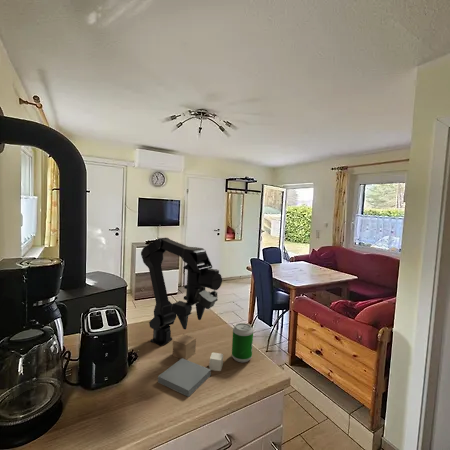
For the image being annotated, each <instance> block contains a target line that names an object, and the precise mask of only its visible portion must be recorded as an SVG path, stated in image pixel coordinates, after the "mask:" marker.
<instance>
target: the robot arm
mask: <svg viewBox="0 0 450 450" xmlns="http://www.w3.org/2000/svg"><path fill="white" fill-rule="evenodd" d="M140 251H141V252H140V255H141V259H142V262H143V264H144V265H145V266H146V267H147V268H148V270H149V274H150V280H151V284H152V291H153V295H154V300H155V306H154V309H153V318H151V319H150V321H149V322H148V324H149V328H150V329H153V331H152V332H153V335H152V338H151V339H150V342H151V343H154V344H157V345H159V346H164V345H166V344H168V343H169V342H171V341H173V337H172V336H171V335H172V332H171V331H172V330H171V325H174V323H175V320H176V318H178V320H179V323H180V325H181V327H182V329H183V330H187V326H188V321H189V316H190V315H192V314H193V313H192V309H193V306H195V310H196V316H197V320H199V321H201V320H202V319H203V318H202V317H203V315H204V313H205V310H210V309H211V308H212V307H214V306H215V303H216V302H217V301H218V300H219V299H218V292H217V290H219V289H220V288H221V286H222V284H223V278H222V275H221V273H220V270H219V269H214V268H213V265H212V262H211V260H210V258H209V256H208V254H207V250H206V249H204V248H202V247H198V246H197V247H196V246H195V247H194V246H188V245H185V244H183V243H180V242H178V241H175V240H173V239H170V238H169V237H159V238H157V239H155V240H154V241H152V242H151V243H149V244H147V245H145V246H144V247H143V248H142V249H141V250H140ZM166 252H169V253H171V254H173V255H175V256H177V257H179V258H181V259H182V261H183V263H186V264H185V265H184V266H183V270H185V271H186V270H187V274H186V275H187V276H186V284H185V285H184V287H183V289H185V290H186V291H185V292H186V293H185V295H184V296H183V300H184V301H182V300H179V301H175V302H174V303H172V302H171V301H170V300H169V297H168V293H167V291H168V290H167V287H166V282H165V278H164V273H163V269H162V264H163V261H164V253H166ZM206 289H210V290H211V292H210V291H207V290H206ZM185 301H186V302H185Z"/></svg>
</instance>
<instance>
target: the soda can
mask: <svg viewBox="0 0 450 450" xmlns="http://www.w3.org/2000/svg"><path fill="white" fill-rule="evenodd" d="M231 341H232V343H231V356H232V357H231V358H233V359H234V361H236V362H238V363H247V362H249V361H250V360H251V359H252V357H253V343H254V342H253V341H254V329H253V327H252V326H251V325H250V324H248V323H243V322H241V323H236V324H235V325H234V326H233V328H232V340H231Z"/></svg>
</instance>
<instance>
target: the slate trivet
mask: <svg viewBox="0 0 450 450" xmlns="http://www.w3.org/2000/svg"><path fill="white" fill-rule="evenodd" d="M211 376H212V370H211V369H209V368H207V367H205V366H204V365H200V364H198V363H196V362H193V361H190V360H189V359H188V360H186V359H183V358H182V359H179V360H177V361H176V362H175V363H174V364H172V365H171V366H169V367H168V368H167V369H166V370H165V371H163V372H162V373H160V374H159V375H158V376H157V383H158V384H161V385H163V386H164V387H166V388H169V389H171V390H172V391H175V392H177V393H179V394H181V395H184V396H185V397H188V398H190V397H191V396H192V395H193V393H194V392H195V391H196V390H198V389H199V388H200V387H201V386H202V384H204V383H205V382H206V381H207V380H208V379H209V378H210V377H211Z"/></svg>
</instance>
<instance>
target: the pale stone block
mask: <svg viewBox="0 0 450 450" xmlns="http://www.w3.org/2000/svg"><path fill="white" fill-rule="evenodd" d="M208 364H209V368H208V369H211V371H215V372H221V371H222V368H223V365H224V354H223V353H220V352H219V353H218V352H211V355H210V357H209V363H208Z"/></svg>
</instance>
